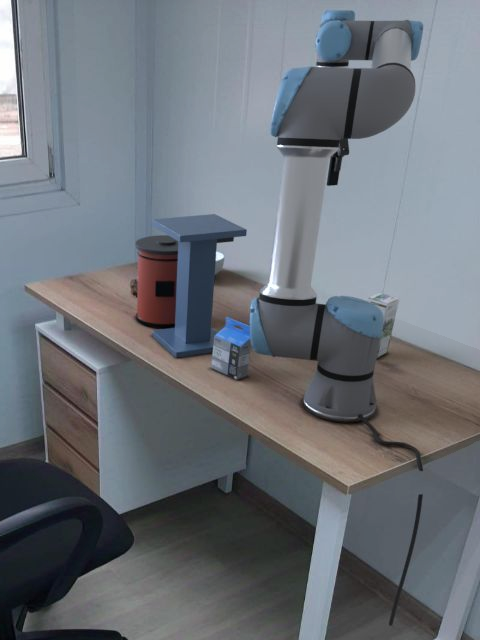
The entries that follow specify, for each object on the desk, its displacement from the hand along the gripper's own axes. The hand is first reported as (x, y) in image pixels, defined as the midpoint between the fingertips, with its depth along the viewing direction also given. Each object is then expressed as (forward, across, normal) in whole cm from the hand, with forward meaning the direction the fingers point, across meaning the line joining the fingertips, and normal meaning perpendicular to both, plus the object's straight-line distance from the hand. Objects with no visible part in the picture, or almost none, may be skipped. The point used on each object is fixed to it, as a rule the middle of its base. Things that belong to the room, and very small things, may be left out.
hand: (316, 180), depth 188 cm
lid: (+17, -13, -30) cm, 37 cm away
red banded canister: (+37, -13, -36) cm, 53 cm away
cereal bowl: (+37, -46, -10) cm, 59 cm away
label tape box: (+37, +26, -35) cm, 57 cm away
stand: (+37, +6, -36) cm, 51 cm away
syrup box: (+37, +28, +4) cm, 47 cm away
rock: (+37, -32, -32) cm, 58 cm away
